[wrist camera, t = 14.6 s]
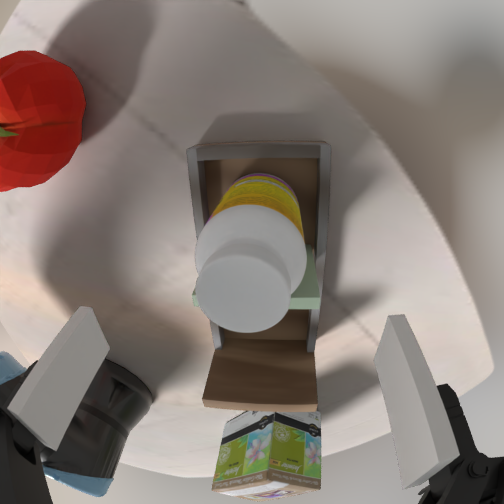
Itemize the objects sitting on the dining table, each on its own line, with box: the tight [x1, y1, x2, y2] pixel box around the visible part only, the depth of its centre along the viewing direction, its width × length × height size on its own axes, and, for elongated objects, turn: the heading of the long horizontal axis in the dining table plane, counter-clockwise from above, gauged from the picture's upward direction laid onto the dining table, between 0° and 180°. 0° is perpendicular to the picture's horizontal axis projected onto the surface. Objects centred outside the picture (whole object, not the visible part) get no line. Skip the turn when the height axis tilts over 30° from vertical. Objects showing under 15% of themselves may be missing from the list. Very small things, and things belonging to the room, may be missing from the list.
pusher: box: [192, 244, 320, 309], centre depth 24 cm, size 5×9×8 cm, turn 93°
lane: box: [187, 141, 331, 412], centre depth 24 cm, size 23×11×10 cm, turn 3°
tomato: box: [0, 51, 86, 192], centre depth 17 cm, size 13×14×12 cm
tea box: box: [212, 411, 321, 501], centre depth 37 cm, size 15×10×15 cm
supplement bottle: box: [195, 173, 307, 333], centre depth 19 cm, size 7×7×13 cm
